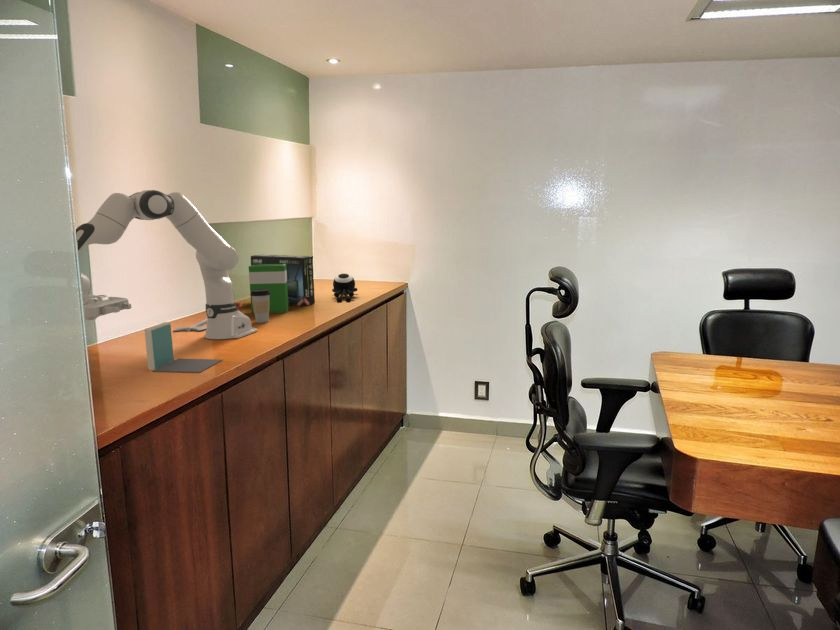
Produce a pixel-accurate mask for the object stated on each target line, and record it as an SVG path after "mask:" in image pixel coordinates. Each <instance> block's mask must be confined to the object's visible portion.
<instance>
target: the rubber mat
mask: <svg viewBox="0 0 840 630" xmlns="http://www.w3.org/2000/svg"><path fill="white" fill-rule="evenodd" d="M221 362H223V359H215V358H214V359H213V358H211V359H208V358H176V359H174V361H172V362H170V363H168V364H166V365H163V366H161V367H159V368H157V369H155V370H152V372H158V373H159V372H161V373H162V372H163V373H187V374H188V373H189V374H190V373H192V374H193V373H194V374H200V373H203V372H204V371H206V370H208V369H210V368H212V367H213V366H215V365H217V364H218V363H221Z"/></svg>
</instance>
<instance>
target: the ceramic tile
mask: <svg viewBox="0 0 840 630" xmlns="http://www.w3.org/2000/svg"><path fill="white" fill-rule="evenodd" d="M171 325H172V324H171V321H170V322H169V321H168V322H167V321H166V322H162V323H159V324H156V325H153V326H150V327H147V328H145V329H144V337H145V338H144V339H145V348H146V357H147V358H146V359H147V367H148V370H149V371H153V370H155V369H157V368H159V367H161V366H163V365H166V364H168V363H170V362H172V361H174V360H175V359H174V346H173V345H174V344H173V335H172V327H171Z"/></svg>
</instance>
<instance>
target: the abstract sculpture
mask: <svg viewBox="0 0 840 630" xmlns="http://www.w3.org/2000/svg"><path fill="white" fill-rule="evenodd" d="M332 286H333V287H332V289H331V291H332V292H333V297H335V298H336V302H337V303H342V301H343V296H345V302H347V303H349V302H350V303H351V301H352V298H353V297H354V296H355V292H357V291H358V288H357V287H356V281H355V278H354V277H353V276H352V275H350V274H349V273H341V274H338V275H336V276H335V277H334V279H333V283H332Z"/></svg>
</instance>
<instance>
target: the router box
mask: <svg viewBox="0 0 840 630" xmlns="http://www.w3.org/2000/svg"><path fill="white" fill-rule="evenodd" d="M313 258H314V255H293V254H292V255H290V254H287V255H286V254H266V253H265V254H254V255H250V266H251V265H264V264H286V270H287V288H288V305H289V306H295V307H296V306H297V307H305V306H306V307H307V306H310V305H312V304H315V303H316V299H315V282H314V265H313V264H314V261H313Z"/></svg>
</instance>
